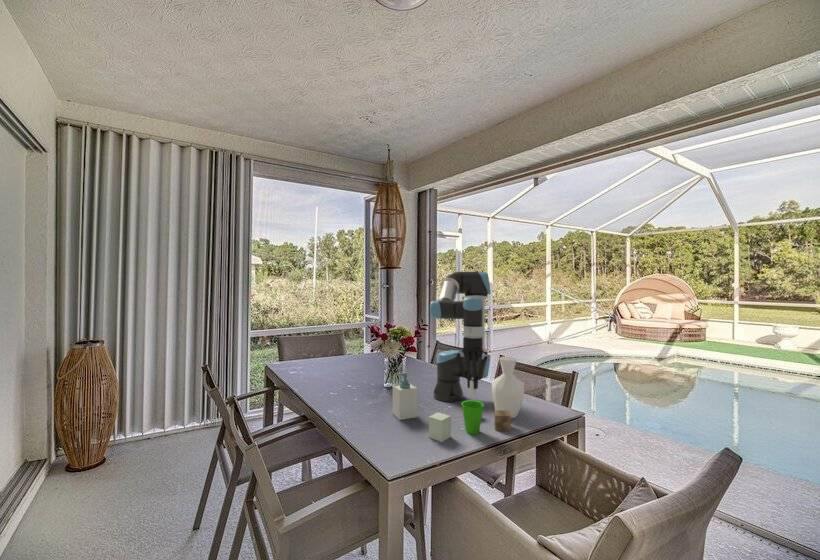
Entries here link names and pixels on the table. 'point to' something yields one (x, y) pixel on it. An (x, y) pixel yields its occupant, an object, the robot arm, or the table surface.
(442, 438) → the sage block
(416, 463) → the table surface
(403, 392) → the soap bottle
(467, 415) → the cup
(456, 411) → the table surface
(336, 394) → the table surface
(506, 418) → the walnut block
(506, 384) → the vase
